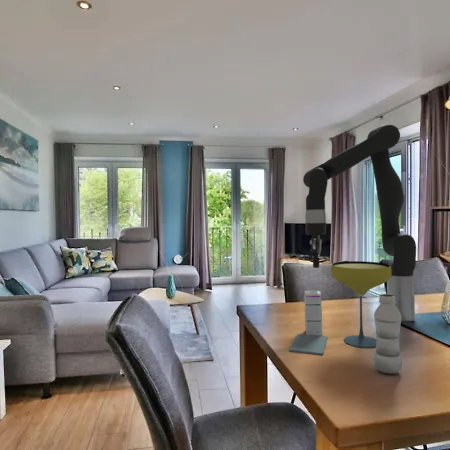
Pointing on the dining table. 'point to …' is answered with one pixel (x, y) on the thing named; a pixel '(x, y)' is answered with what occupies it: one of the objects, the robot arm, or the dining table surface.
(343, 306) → the dining table surface
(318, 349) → the mat
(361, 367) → the dining table surface
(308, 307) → the syrup box
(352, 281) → the cocktail glass
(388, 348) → the plastic bottle
